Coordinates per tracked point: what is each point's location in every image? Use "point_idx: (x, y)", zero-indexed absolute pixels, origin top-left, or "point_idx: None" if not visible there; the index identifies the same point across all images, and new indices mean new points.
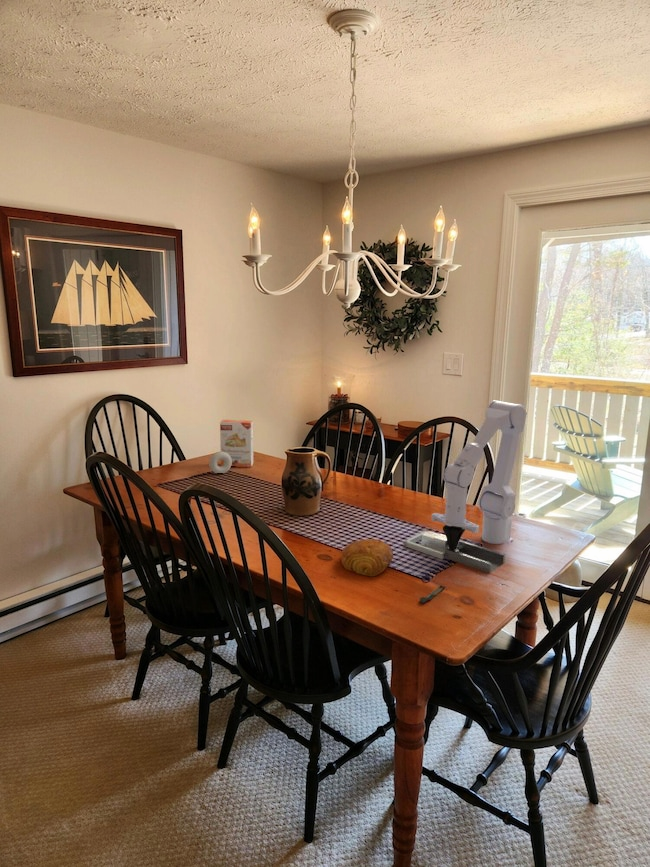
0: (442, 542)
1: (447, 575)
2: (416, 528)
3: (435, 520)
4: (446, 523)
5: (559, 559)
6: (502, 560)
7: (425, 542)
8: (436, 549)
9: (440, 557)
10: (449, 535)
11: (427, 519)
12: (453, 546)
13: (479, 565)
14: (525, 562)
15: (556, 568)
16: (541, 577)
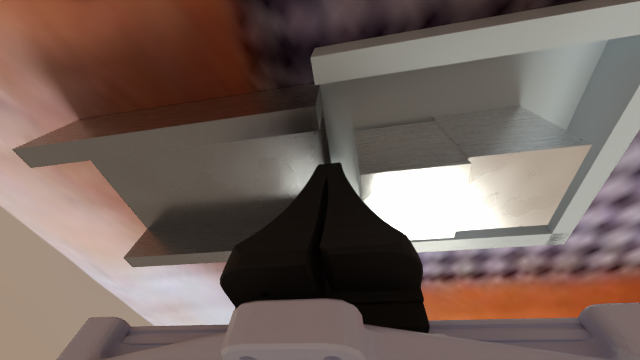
0: (382, 162)
1: None
2: (610, 250)
3: (578, 321)
4: (310, 338)
5: (159, 321)
6: (141, 238)
7: (512, 125)
8: (412, 127)
9: (322, 50)
10: (330, 217)
11: (579, 312)
12: (309, 179)
13: (94, 127)
14: (167, 276)
15: (112, 292)
16: (56, 240)
